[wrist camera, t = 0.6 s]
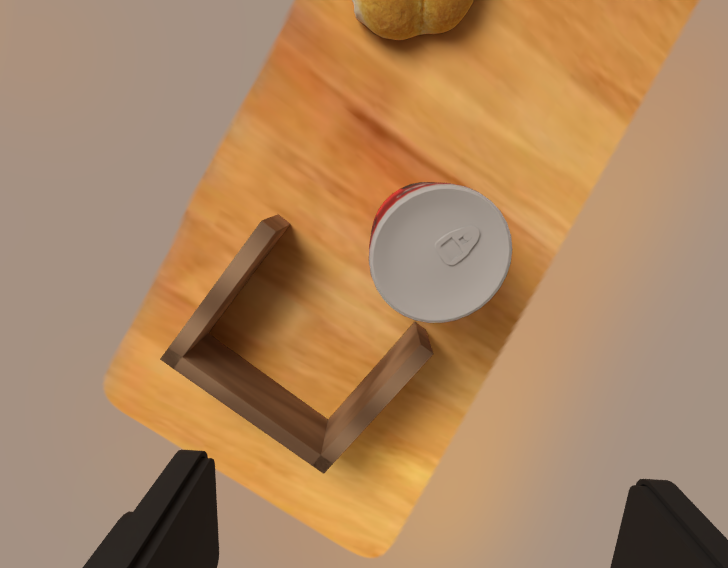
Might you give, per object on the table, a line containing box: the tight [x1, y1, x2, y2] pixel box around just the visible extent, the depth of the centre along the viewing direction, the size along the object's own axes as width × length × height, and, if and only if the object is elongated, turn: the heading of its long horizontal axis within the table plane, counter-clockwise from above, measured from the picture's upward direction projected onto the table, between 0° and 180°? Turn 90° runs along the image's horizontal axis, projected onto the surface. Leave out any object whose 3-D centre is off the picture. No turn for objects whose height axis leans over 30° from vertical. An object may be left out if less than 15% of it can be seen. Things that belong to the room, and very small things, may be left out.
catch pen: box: [160, 215, 433, 474], centre depth 34 cm, size 13×15×5 cm
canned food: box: [369, 182, 512, 323], centre depth 28 cm, size 8×8×11 cm
